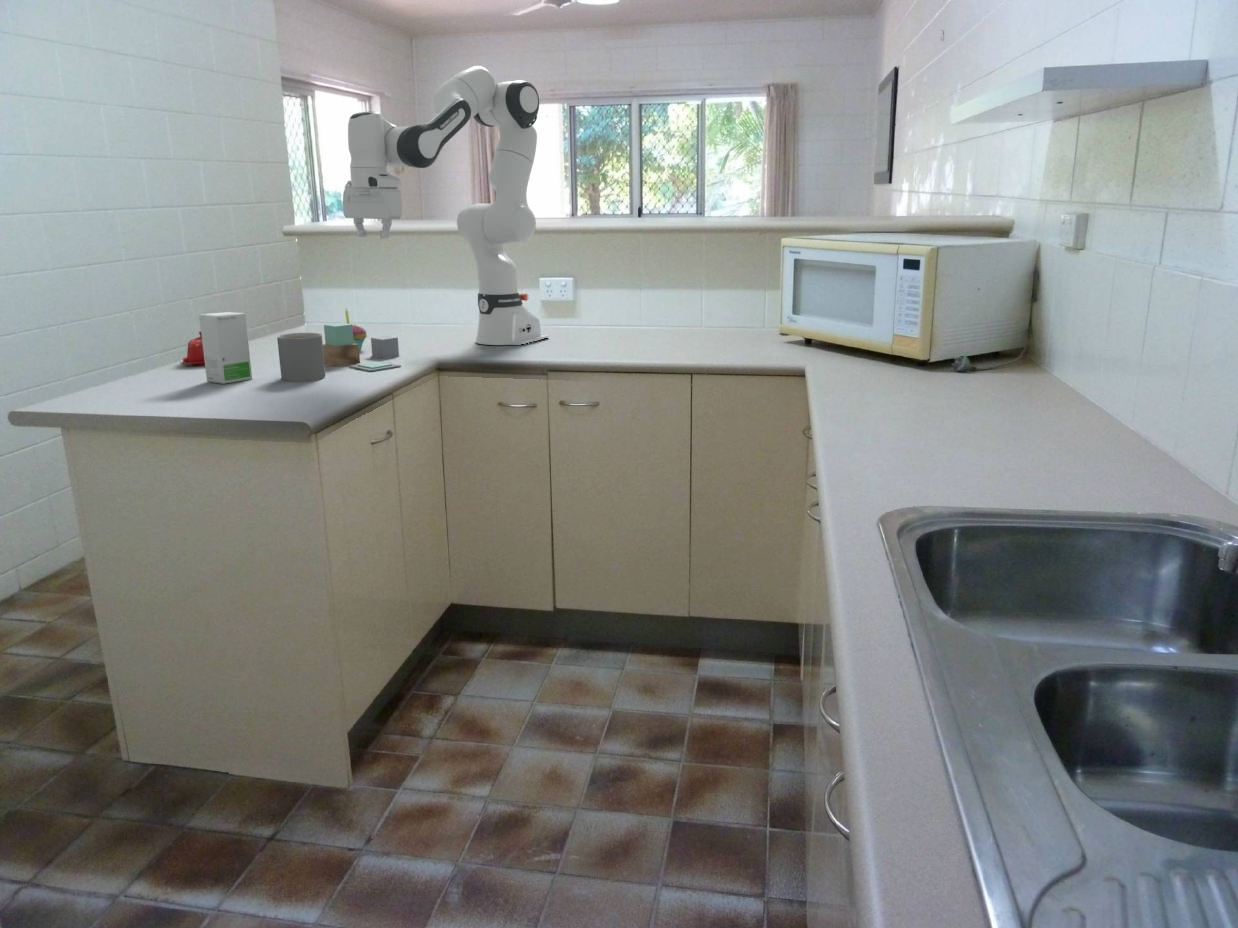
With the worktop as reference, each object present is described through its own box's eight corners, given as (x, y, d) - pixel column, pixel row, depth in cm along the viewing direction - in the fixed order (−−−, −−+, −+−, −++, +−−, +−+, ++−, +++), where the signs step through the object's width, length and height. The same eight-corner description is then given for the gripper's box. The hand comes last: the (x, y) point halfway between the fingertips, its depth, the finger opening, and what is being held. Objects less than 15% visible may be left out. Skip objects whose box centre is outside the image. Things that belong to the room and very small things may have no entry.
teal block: (325, 344, 239) (323, 324, 237) (342, 342, 243) (340, 322, 241) (337, 346, 236) (335, 326, 234) (353, 344, 240) (352, 324, 238)
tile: (379, 362, 240) (379, 360, 240) (401, 366, 235) (400, 364, 235) (349, 367, 234) (349, 364, 234) (370, 372, 228) (370, 369, 228)
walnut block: (343, 360, 245) (342, 341, 244) (360, 363, 241) (358, 344, 239) (320, 364, 240) (318, 344, 238) (336, 367, 236) (335, 347, 234)
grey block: (387, 354, 254) (386, 335, 253) (399, 356, 251) (397, 337, 250) (372, 356, 250) (370, 337, 249) (383, 358, 247) (382, 339, 246)
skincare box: (222, 384, 213) (214, 316, 209) (204, 381, 217) (196, 314, 212) (254, 378, 220) (246, 312, 216) (236, 376, 223) (228, 310, 219)
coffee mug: (323, 381, 218) (319, 338, 215) (278, 382, 216) (274, 339, 213) (328, 370, 230) (325, 330, 227) (286, 372, 228) (282, 331, 226)
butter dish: (183, 361, 244) (179, 328, 241) (230, 358, 248) (227, 326, 246) (183, 368, 234) (179, 334, 231) (233, 365, 238) (229, 332, 236)
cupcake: (362, 353, 254) (359, 309, 251) (331, 353, 255) (327, 309, 251) (371, 348, 263) (368, 305, 259) (341, 348, 263) (337, 305, 259)
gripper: (334, 180, 237) (338, 236, 241) (383, 180, 224) (387, 239, 228) (355, 181, 241) (359, 236, 245) (404, 180, 229) (408, 238, 233)
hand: (373, 237), depth 236 cm, fingers open, 8 cm apart
